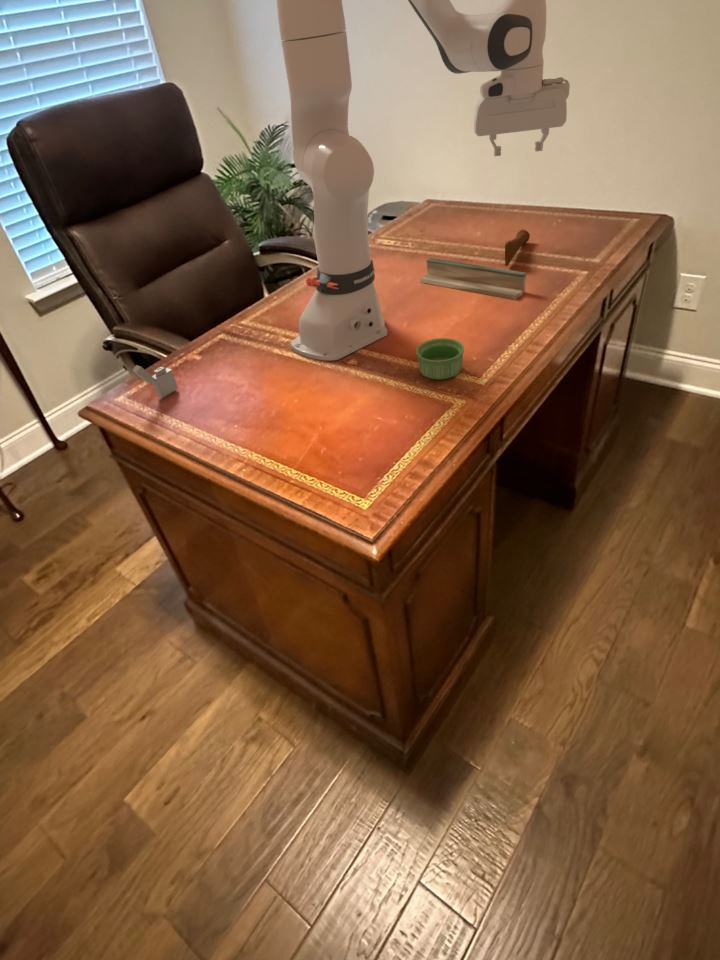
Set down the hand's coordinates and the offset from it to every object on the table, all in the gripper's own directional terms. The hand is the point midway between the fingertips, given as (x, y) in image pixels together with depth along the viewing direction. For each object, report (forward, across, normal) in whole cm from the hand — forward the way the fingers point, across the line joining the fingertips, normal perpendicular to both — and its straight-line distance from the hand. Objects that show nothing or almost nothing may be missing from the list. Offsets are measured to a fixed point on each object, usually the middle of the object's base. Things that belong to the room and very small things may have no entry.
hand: (517, 153), depth 136 cm
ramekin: (+24, +21, +55) cm, 64 cm away
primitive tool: (+26, +1, +2) cm, 26 cm away
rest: (+24, +11, +15) cm, 30 cm away
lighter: (+24, +77, +57) cm, 99 cm away
